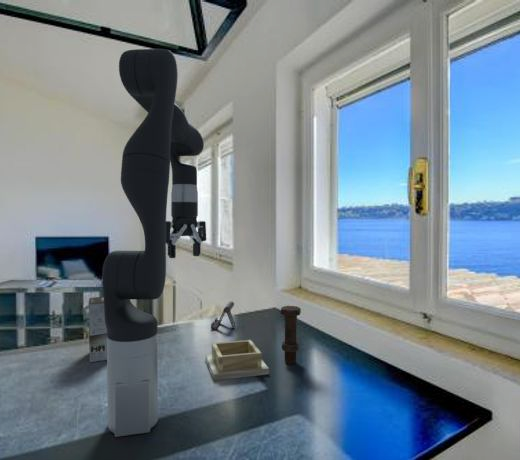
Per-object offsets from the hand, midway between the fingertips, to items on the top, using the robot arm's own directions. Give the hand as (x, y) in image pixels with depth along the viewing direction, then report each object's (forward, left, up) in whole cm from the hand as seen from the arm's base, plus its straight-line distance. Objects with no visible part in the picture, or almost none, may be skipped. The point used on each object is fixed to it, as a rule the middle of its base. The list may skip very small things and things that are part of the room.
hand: (184, 257), depth 113 cm
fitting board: (-15, -12, -28) cm, 34 cm away
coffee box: (+3, +23, -28) cm, 36 cm away
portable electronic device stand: (+22, -16, -28) cm, 39 cm away
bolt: (-16, -27, -28) cm, 42 cm away
